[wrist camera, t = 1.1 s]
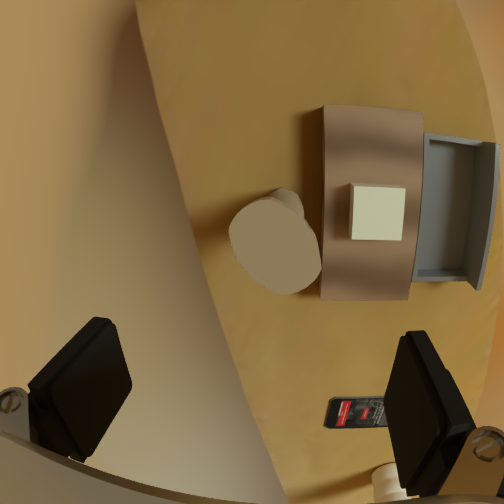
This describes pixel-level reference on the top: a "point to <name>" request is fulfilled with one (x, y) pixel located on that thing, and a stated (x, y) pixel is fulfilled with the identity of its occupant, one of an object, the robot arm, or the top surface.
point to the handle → (276, 243)
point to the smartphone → (356, 413)
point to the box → (456, 209)
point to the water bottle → (387, 484)
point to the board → (368, 172)
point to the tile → (376, 211)
